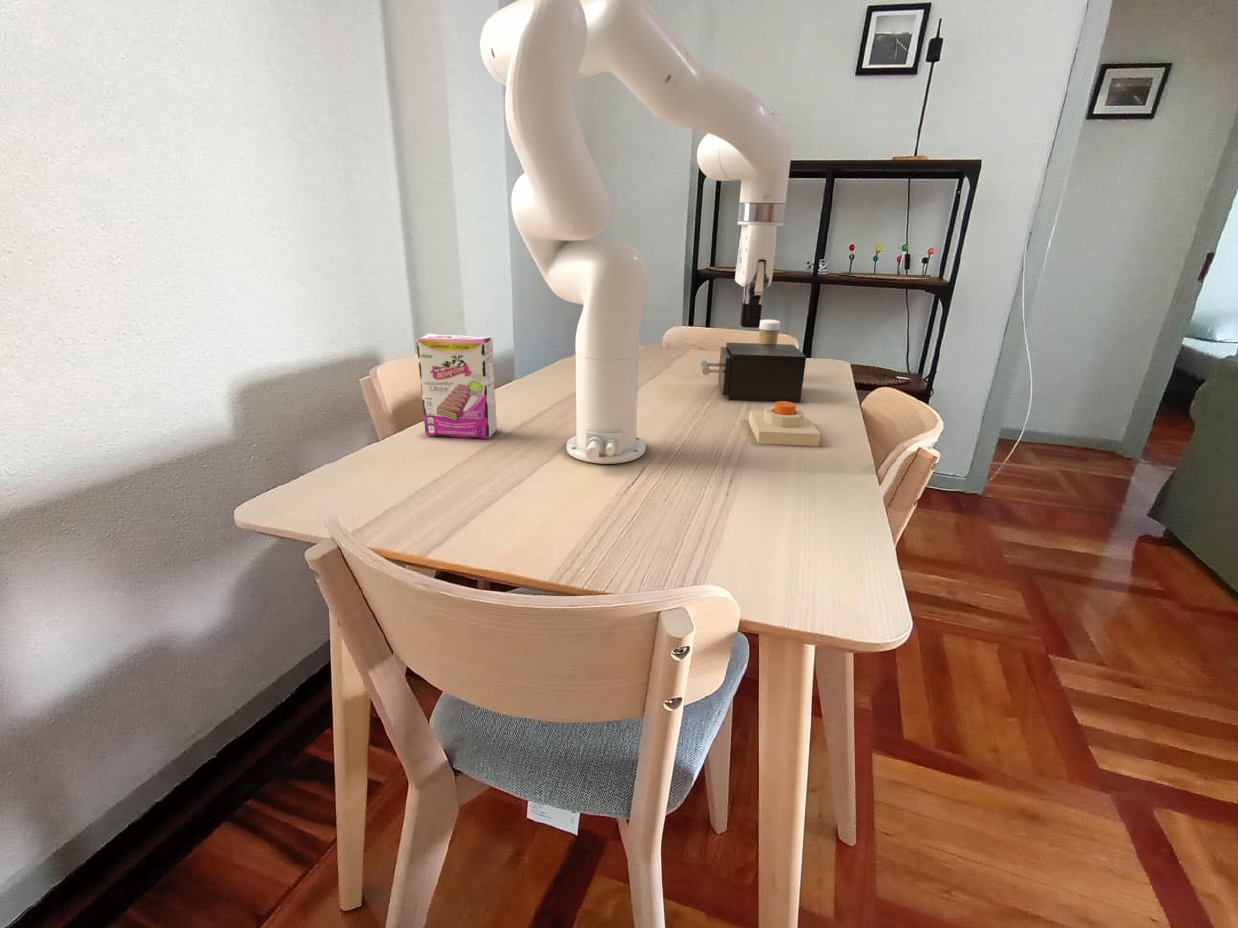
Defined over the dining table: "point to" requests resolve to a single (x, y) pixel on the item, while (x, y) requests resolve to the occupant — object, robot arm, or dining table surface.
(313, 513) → the dining table surface
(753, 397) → the black drawer cabinet
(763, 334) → the sprinkles bottle
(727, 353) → the drawer with knob
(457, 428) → the candy bar box
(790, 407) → the button
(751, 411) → the cream button base
